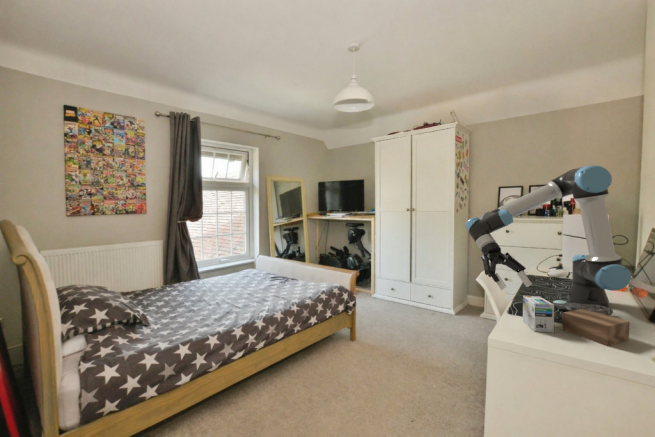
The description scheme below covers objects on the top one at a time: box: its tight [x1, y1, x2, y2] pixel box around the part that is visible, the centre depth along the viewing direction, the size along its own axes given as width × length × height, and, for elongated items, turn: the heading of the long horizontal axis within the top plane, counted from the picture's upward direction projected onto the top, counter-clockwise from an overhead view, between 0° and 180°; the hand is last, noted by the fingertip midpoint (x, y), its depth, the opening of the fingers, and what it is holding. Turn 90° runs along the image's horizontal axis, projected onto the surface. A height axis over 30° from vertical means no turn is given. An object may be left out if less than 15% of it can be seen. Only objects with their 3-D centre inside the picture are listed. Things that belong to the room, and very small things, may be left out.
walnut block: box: [561, 309, 630, 347], centre depth 108 cm, size 12×14×7 cm
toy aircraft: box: [552, 299, 614, 316], centre depth 129 cm, size 16×20×5 cm
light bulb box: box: [522, 295, 555, 333], centre depth 116 cm, size 11×7×11 cm, turn 168°
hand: (516, 286), depth 124 cm, fingers open, 13 cm apart
